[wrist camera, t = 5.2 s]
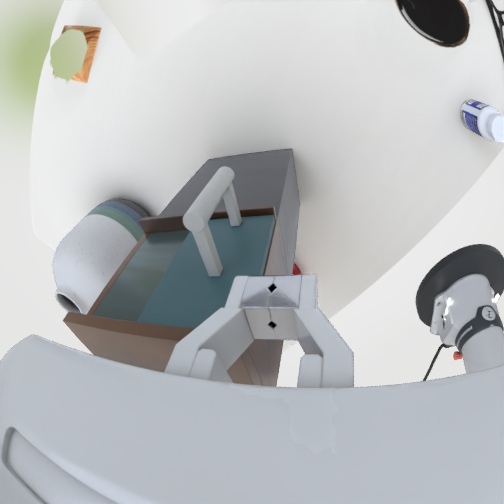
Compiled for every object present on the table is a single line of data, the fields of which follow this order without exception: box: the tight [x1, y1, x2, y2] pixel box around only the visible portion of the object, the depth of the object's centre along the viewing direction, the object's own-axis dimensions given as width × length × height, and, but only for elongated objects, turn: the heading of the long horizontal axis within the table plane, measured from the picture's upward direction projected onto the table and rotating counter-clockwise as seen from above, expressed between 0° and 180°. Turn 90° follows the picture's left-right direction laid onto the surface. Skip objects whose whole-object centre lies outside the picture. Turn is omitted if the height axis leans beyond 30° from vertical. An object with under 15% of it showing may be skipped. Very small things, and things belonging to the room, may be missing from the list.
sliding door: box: [138, 166, 275, 328], centre depth 18 cm, size 6×7×12 cm
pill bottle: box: [461, 100, 504, 143], centre depth 25 cm, size 5×5×9 cm
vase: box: [53, 199, 149, 314], centre depth 48 cm, size 17×17×24 cm
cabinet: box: [63, 149, 300, 387], centre depth 32 cm, size 12×14×35 cm
